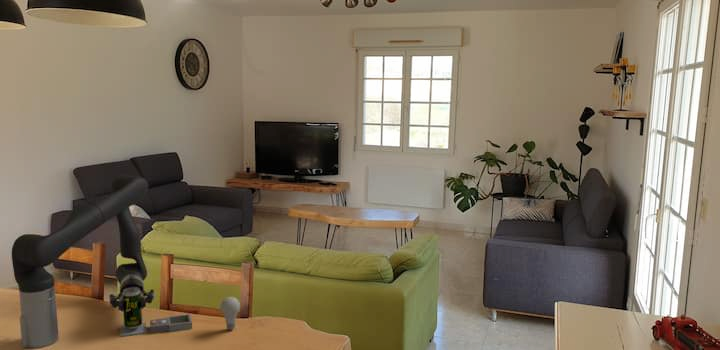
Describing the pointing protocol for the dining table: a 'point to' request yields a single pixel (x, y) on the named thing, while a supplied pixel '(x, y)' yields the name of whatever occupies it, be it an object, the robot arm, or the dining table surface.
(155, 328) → the grey button tray
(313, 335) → the dining table surface
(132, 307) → the beer can
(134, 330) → the slate mat
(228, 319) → the lightbulb
